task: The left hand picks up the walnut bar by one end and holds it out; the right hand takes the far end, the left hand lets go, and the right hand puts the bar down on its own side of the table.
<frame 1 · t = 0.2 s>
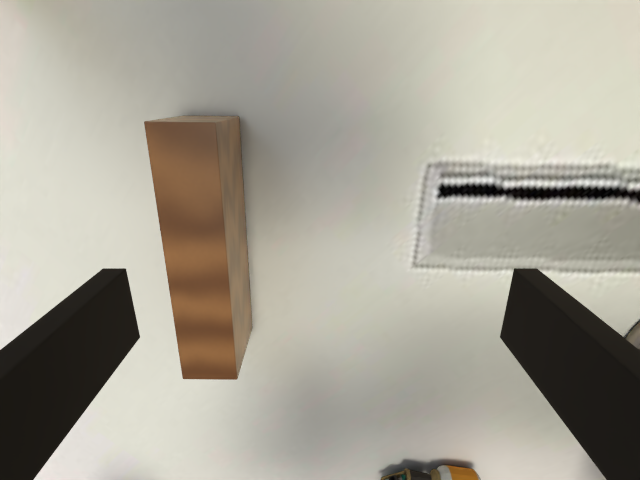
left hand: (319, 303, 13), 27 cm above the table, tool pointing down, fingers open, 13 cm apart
bar: (221, 233, 41), on the table
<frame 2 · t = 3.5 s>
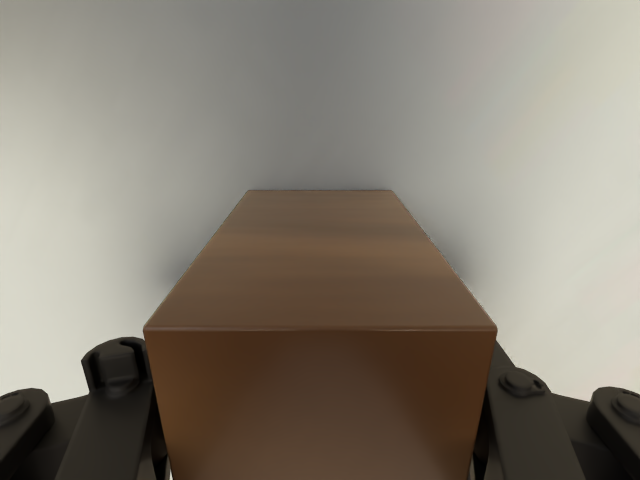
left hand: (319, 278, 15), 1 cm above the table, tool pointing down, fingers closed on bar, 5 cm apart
bar: (320, 434, 18), on the table, touching left hand
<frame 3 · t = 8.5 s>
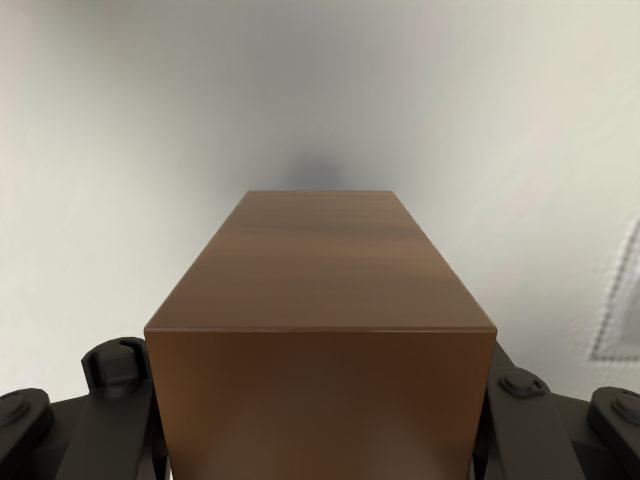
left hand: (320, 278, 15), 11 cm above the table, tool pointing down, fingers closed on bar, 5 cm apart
bar: (319, 434, 18), point 10 cm above the table, touching left hand, right hand
when the left hand's fingers open (11 cm above the table, at t = 9.3 s): bar stays where it is, held by the right hand.
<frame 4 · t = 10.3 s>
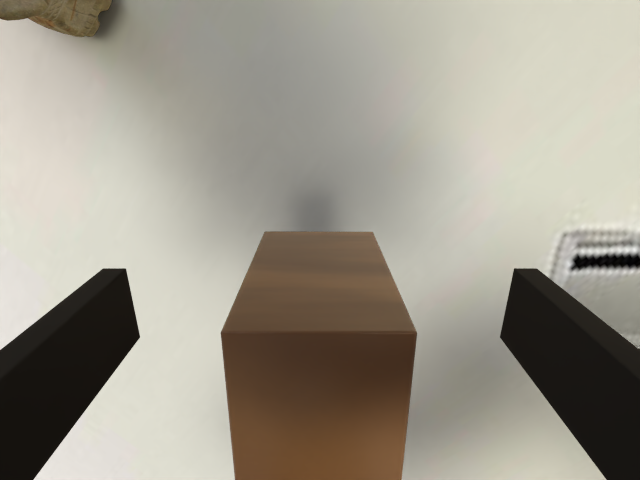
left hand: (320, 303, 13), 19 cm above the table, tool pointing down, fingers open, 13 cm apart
bar: (318, 422, 23), point 13 cm above the table, touching right hand
when the right hand's fingers open (2 cm above the table, at t = 14.8 s): bar stays where it is, on the table.
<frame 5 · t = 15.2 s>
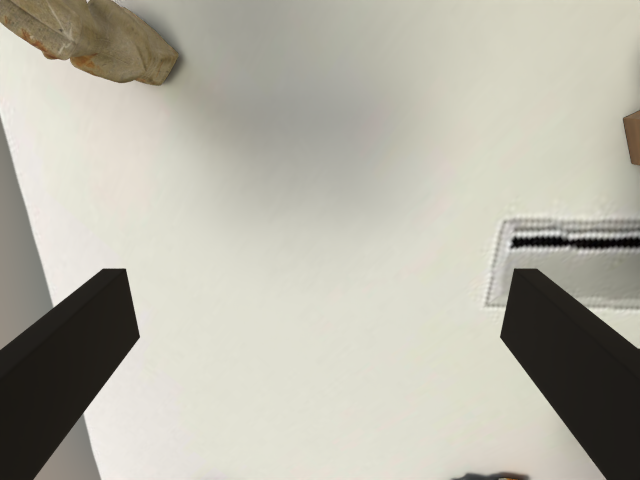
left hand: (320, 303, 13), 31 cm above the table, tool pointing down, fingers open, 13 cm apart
sculpture: (148, 51, 38), on the table
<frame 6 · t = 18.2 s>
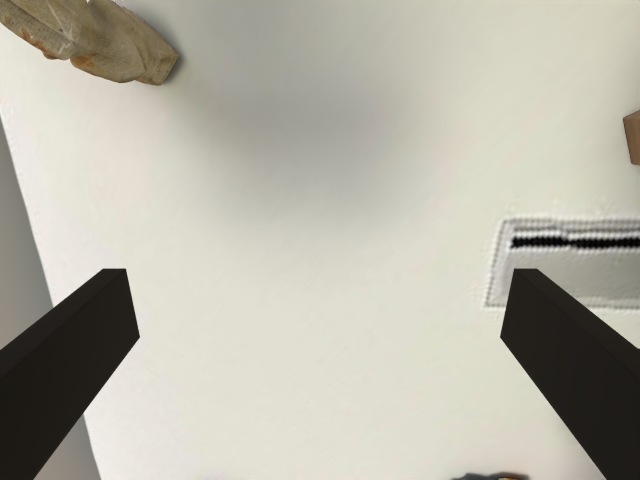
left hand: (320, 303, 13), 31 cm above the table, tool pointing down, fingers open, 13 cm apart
sculpture: (148, 51, 38), on the table
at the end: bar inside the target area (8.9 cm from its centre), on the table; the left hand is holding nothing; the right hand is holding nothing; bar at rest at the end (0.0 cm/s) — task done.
